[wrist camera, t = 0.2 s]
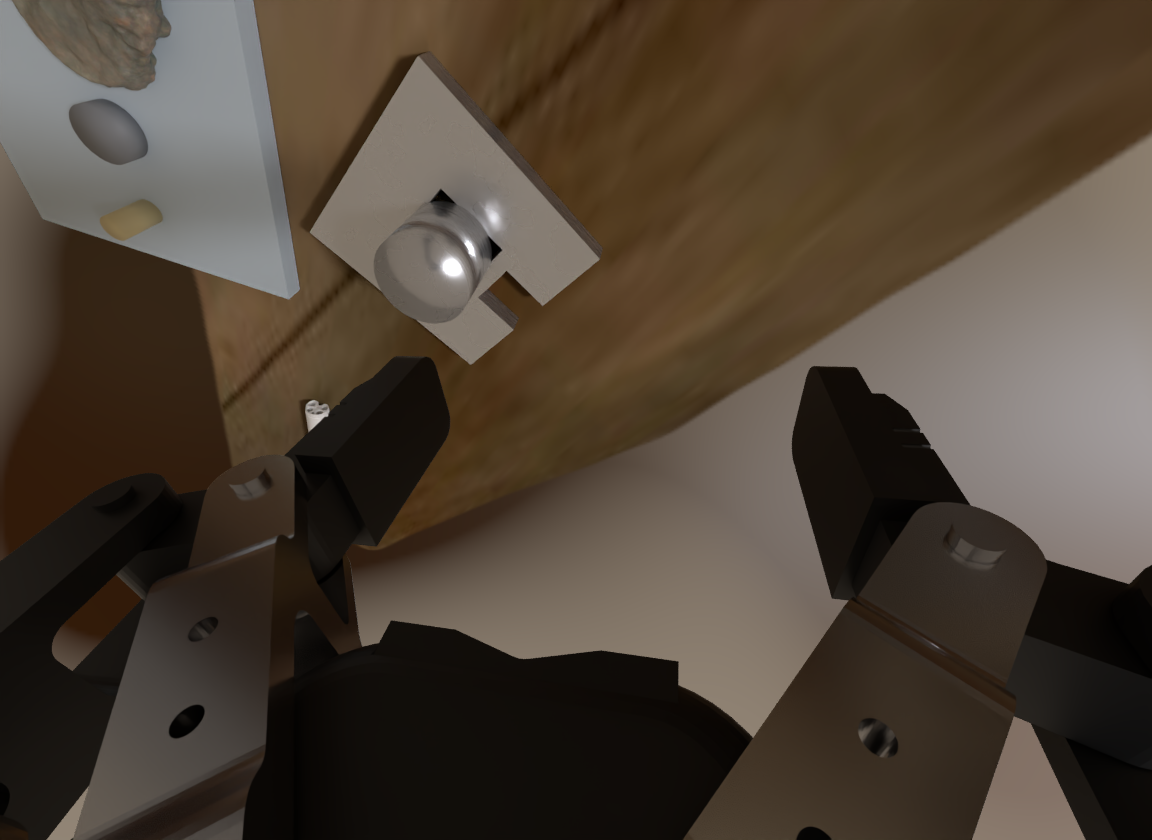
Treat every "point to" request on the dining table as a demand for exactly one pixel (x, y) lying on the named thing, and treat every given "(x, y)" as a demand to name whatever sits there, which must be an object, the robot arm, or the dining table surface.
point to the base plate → (158, 146)
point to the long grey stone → (101, 37)
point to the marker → (315, 413)
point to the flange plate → (467, 176)
